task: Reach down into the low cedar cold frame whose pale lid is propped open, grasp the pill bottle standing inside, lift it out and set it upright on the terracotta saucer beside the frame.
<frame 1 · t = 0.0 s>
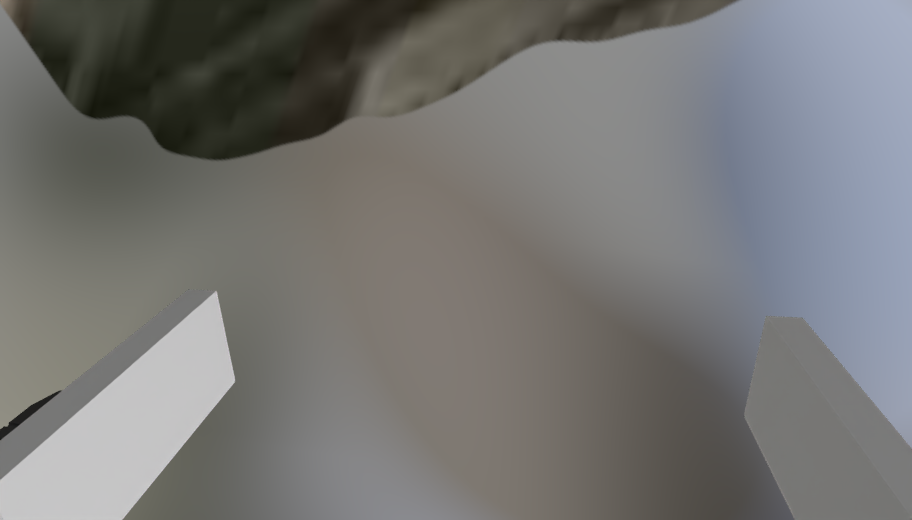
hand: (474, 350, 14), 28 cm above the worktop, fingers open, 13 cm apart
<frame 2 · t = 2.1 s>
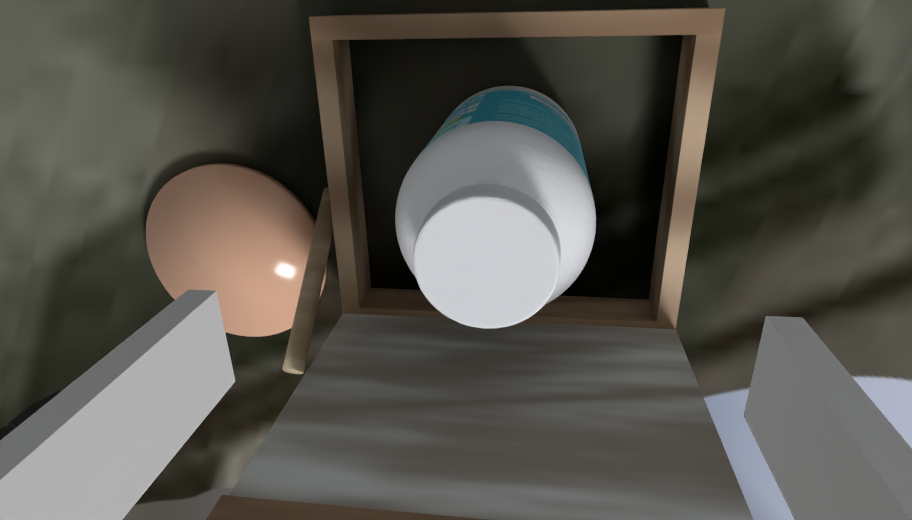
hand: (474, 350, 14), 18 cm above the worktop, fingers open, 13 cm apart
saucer: (239, 252, 35), on the worktop
pill bottle: (508, 156, 30), resting in cold frame
cold frame: (507, 175, 31), on the worktop
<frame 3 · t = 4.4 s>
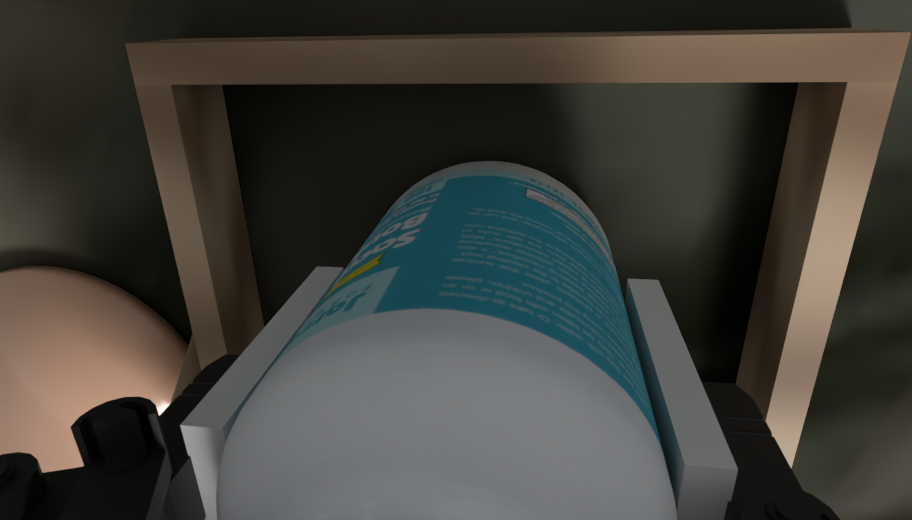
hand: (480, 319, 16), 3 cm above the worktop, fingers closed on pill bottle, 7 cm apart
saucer: (86, 392, 23), on the worktop
pill bottle: (491, 267, 19), resting in cold frame, touching gripper
cold frame: (490, 297, 19), on the worktop
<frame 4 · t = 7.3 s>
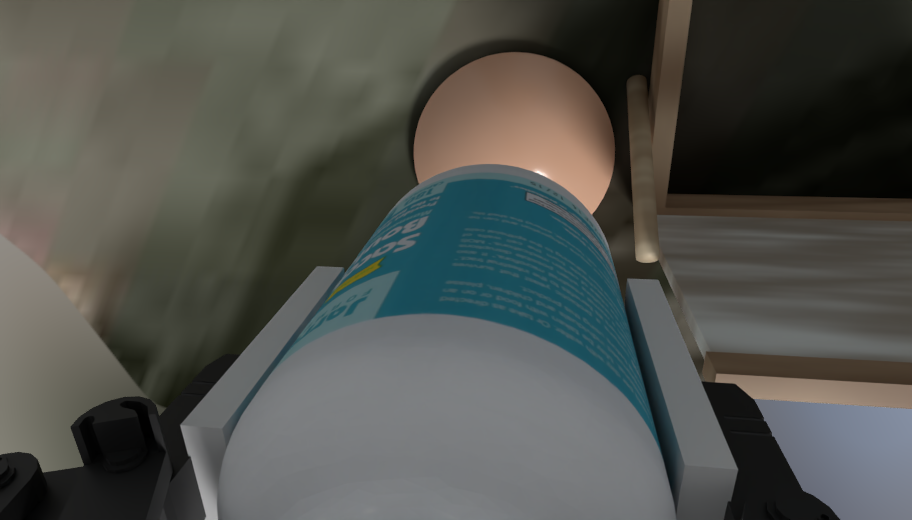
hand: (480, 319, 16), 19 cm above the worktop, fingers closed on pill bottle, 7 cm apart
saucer: (512, 155, 32), on the worktop
pill bottle: (491, 269, 19), point 15 cm above the worktop, touching gripper
cold frame: (843, 59, 28), on the worktop
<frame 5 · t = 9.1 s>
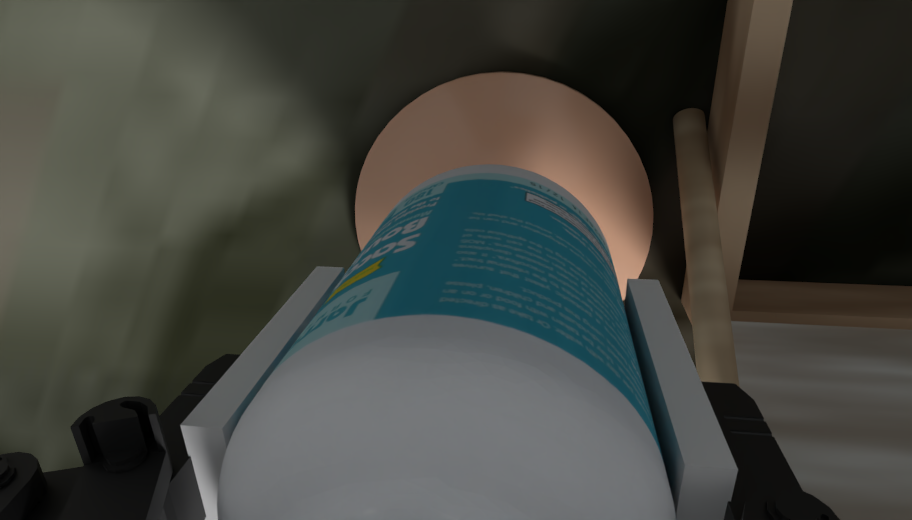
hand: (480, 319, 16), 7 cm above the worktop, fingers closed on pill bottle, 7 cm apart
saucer: (499, 222, 22), on the worktop
pill bottle: (491, 270, 19), point 4 cm above the worktop, touching gripper
when the fingers open (5 cm above the worktop, at t = 10.5 s): pill bottle drops 1 cm, resting on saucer.
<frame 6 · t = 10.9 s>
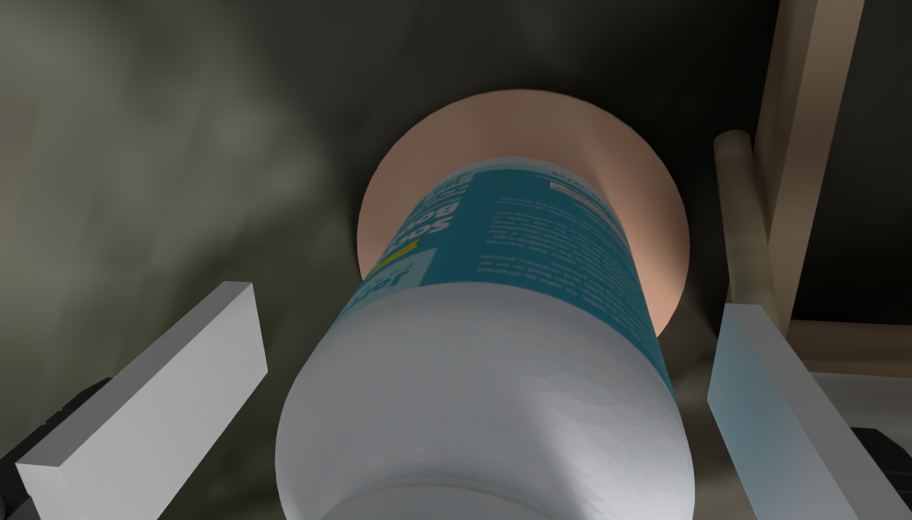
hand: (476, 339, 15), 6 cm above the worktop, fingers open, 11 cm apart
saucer: (516, 253, 20), on the worktop
pill bottle: (513, 258, 20), resting on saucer
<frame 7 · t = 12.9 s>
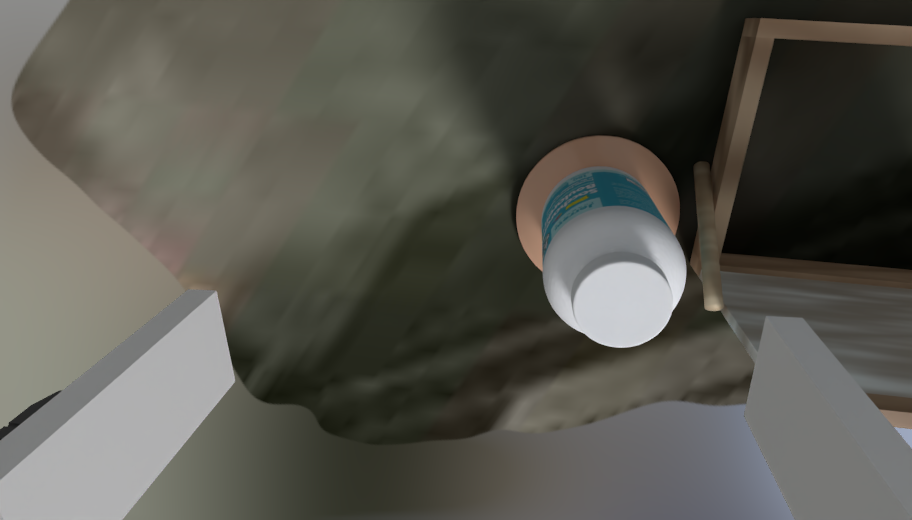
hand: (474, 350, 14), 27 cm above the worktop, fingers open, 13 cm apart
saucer: (595, 214, 40), on the worktop
pill bottle: (594, 215, 40), resting on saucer
cold frame: (860, 161, 37), on the worktop
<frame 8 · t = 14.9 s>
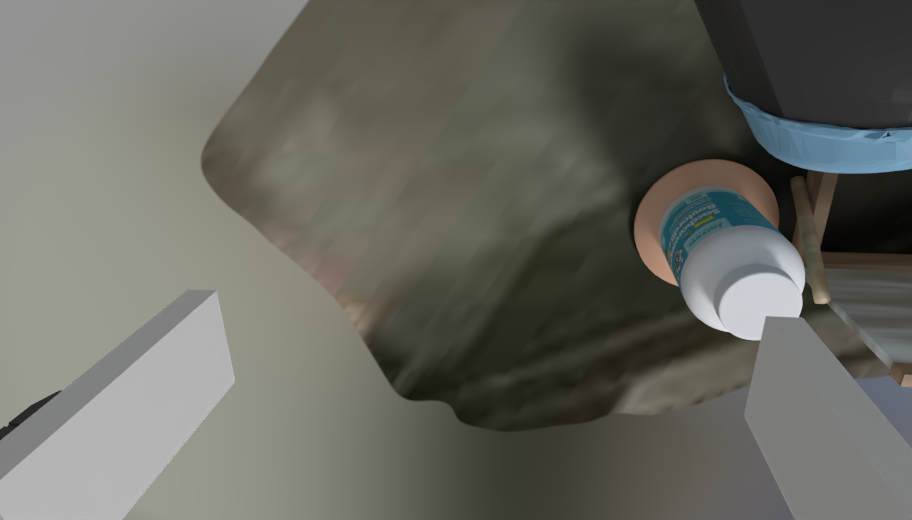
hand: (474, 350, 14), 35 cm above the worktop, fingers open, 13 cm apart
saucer: (703, 225, 47), on the worktop
pill bottle: (703, 226, 47), resting on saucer
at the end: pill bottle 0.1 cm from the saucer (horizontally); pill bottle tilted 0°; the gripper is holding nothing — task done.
